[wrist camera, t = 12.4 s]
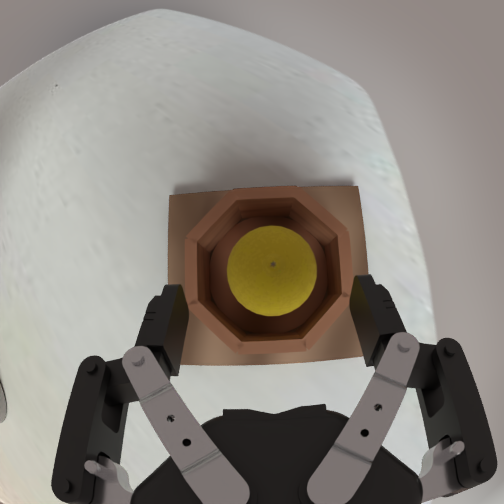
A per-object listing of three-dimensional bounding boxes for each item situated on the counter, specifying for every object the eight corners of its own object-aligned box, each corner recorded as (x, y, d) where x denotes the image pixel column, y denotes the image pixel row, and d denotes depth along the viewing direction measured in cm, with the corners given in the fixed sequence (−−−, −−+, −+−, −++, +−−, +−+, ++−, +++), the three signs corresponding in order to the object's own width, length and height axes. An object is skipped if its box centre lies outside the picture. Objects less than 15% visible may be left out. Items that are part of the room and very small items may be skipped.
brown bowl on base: (175, 361, 23) (150, 377, 17) (173, 199, 25) (150, 174, 20) (367, 353, 22) (393, 365, 17) (354, 190, 24) (374, 163, 19)
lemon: (273, 225, 23) (277, 188, 15) (321, 278, 22) (351, 268, 14) (218, 272, 23) (194, 259, 15) (266, 327, 22) (268, 344, 14)
